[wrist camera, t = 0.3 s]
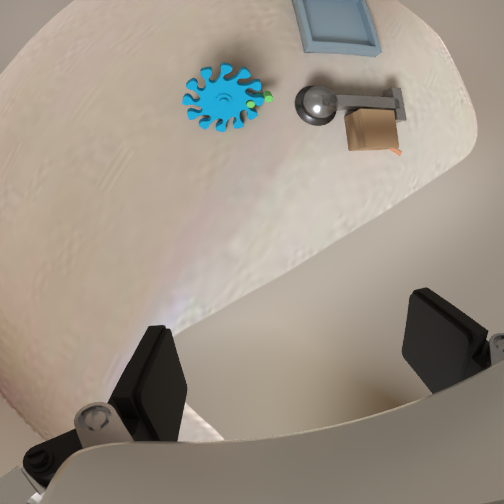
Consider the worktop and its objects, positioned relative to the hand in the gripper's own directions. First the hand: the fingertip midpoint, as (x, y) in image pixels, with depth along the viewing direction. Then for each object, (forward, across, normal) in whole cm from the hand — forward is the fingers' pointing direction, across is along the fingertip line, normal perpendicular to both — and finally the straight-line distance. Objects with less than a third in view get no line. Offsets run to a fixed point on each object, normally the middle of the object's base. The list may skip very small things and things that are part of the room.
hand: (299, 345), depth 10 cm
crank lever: (+29, -16, -16) cm, 37 cm away
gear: (+30, +2, -16) cm, 34 cm away
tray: (+30, -16, -30) cm, 45 cm away
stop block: (+30, -17, -11) cm, 36 cm away
